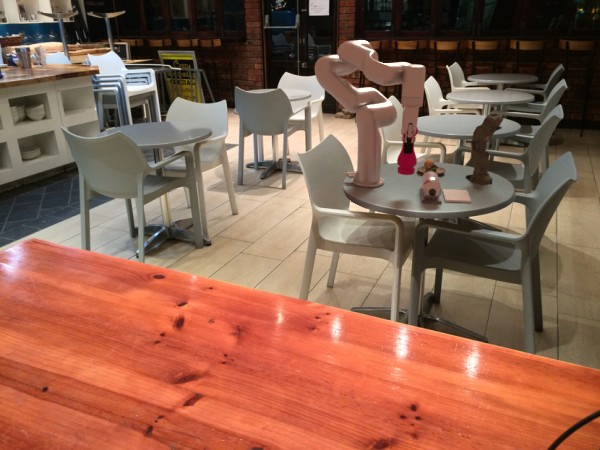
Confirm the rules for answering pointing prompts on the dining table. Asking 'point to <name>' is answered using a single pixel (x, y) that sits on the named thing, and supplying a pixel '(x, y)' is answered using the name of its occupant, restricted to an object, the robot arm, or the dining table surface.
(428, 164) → the brown orange lobed cluster
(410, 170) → the pepper mill
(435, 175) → the motor housing
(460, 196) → the far mat
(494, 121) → the brown tall irregular piece
